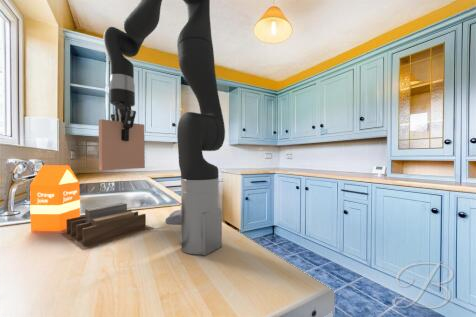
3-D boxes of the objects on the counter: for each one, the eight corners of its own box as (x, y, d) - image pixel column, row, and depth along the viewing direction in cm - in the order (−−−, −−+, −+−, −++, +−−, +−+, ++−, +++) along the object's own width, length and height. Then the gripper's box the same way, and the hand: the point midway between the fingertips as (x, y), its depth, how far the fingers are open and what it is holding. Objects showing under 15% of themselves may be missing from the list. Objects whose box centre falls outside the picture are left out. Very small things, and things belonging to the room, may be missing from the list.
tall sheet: (144, 167, 76) (144, 124, 76) (102, 170, 65) (101, 119, 65) (141, 167, 78) (140, 125, 78) (99, 169, 66) (98, 120, 66)
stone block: (164, 233, 66) (194, 227, 66) (161, 218, 66) (191, 212, 66) (175, 222, 78) (201, 217, 78) (173, 210, 78) (199, 204, 78)
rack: (154, 231, 62) (154, 214, 62) (83, 254, 48) (82, 233, 48) (125, 220, 73) (125, 206, 73) (60, 236, 59) (59, 219, 59)
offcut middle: (127, 226, 64) (126, 203, 64) (89, 236, 56) (89, 210, 56) (122, 224, 66) (122, 202, 66) (85, 233, 58) (85, 209, 58)
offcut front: (134, 229, 62) (134, 212, 62) (95, 240, 54) (95, 221, 53) (129, 227, 63) (129, 210, 63) (91, 237, 55) (91, 219, 55)
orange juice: (54, 225, 68) (53, 164, 68) (80, 225, 68) (79, 164, 68) (29, 234, 60) (28, 166, 60) (59, 234, 60) (58, 166, 60)
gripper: (143, 89, 70) (144, 140, 70) (124, 96, 78) (124, 142, 78) (120, 83, 64) (121, 139, 64) (101, 92, 72) (102, 141, 72)
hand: (123, 141), depth 71 cm, fingers closed on tall sheet, 2 cm apart
